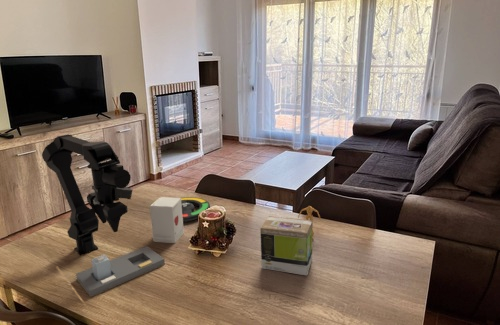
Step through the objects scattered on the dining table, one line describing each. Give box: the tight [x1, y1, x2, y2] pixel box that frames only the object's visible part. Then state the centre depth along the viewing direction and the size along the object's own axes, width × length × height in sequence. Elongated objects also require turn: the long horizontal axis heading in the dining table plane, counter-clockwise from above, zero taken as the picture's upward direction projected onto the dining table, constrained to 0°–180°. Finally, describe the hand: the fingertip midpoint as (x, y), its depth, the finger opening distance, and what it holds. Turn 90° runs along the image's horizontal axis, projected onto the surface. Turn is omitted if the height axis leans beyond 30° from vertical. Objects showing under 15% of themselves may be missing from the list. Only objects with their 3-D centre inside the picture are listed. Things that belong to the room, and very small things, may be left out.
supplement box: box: [149, 196, 185, 244], centre depth 135 cm, size 9×9×15 cm
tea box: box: [259, 215, 314, 277], centre depth 115 cm, size 15×10×15 cm
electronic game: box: [180, 196, 211, 223], centre depth 159 cm, size 23×23×5 cm
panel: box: [75, 245, 166, 298], centre depth 115 cm, size 12×24×3 cm, turn 133°
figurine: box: [297, 205, 321, 238], centre depth 134 cm, size 8×6×12 cm
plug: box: [90, 254, 112, 281], centre depth 110 cm, size 4×4×8 cm
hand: (110, 227), depth 118 cm, fingers open, 9 cm apart
